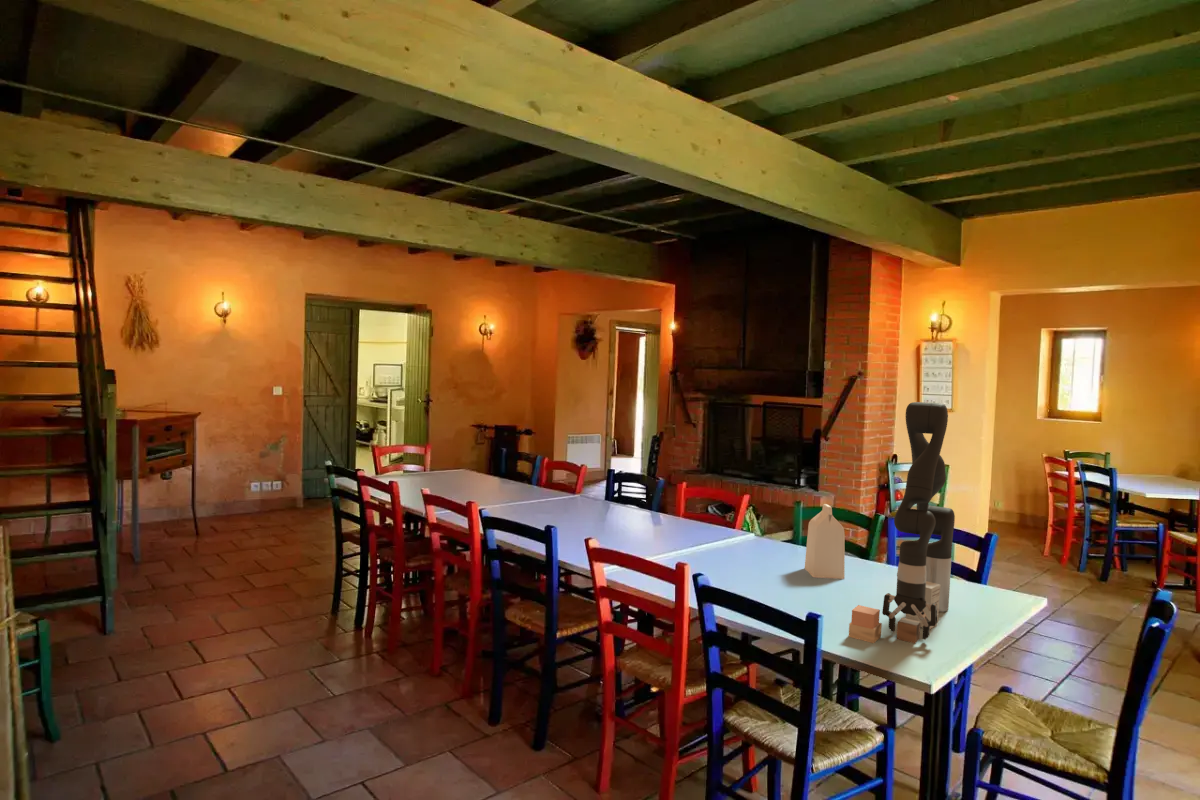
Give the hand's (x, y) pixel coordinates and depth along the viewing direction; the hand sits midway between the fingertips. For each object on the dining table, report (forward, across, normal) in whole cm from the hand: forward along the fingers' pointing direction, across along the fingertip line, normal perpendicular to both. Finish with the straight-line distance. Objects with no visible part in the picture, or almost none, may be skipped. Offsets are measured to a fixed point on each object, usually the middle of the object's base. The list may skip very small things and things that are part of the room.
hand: (908, 634), depth 199 cm
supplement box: (+1, 0, -16) cm, 16 cm away
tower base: (+1, +10, +7) cm, 12 cm away
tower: (-3, +10, +7) cm, 13 cm away
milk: (+1, +42, -50) cm, 65 cm away
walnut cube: (+1, 0, 0) cm, 1 cm away
